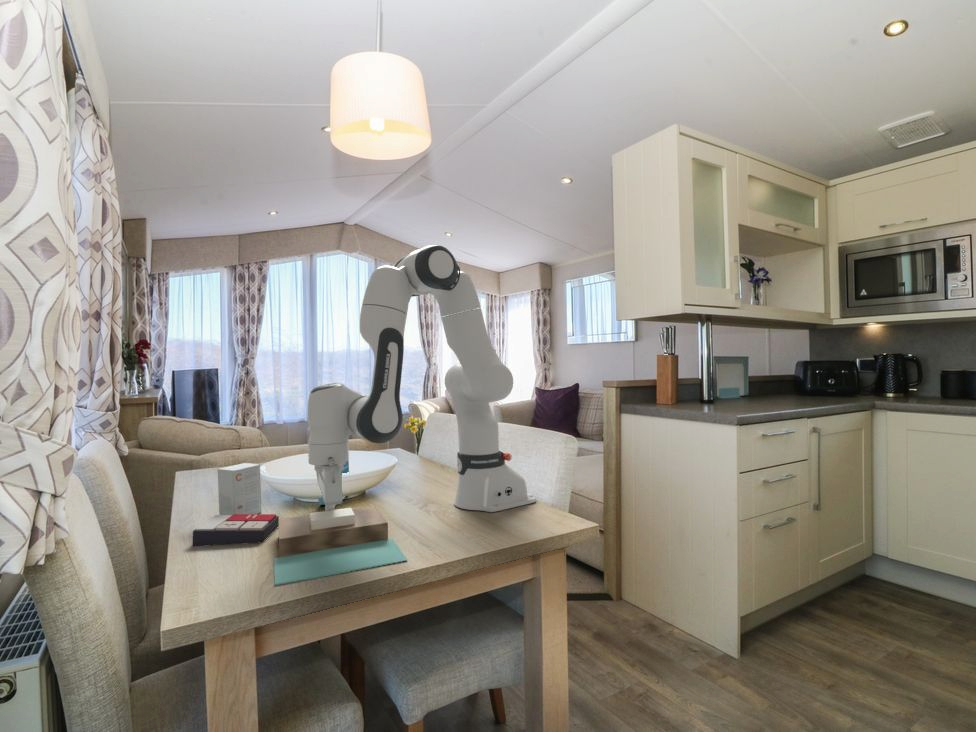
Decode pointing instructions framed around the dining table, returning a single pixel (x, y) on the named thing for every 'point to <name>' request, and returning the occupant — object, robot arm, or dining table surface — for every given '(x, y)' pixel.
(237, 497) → the small box
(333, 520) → the white rectangular eraser
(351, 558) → the mat
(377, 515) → the board
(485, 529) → the dining table surface
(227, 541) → the calculator
